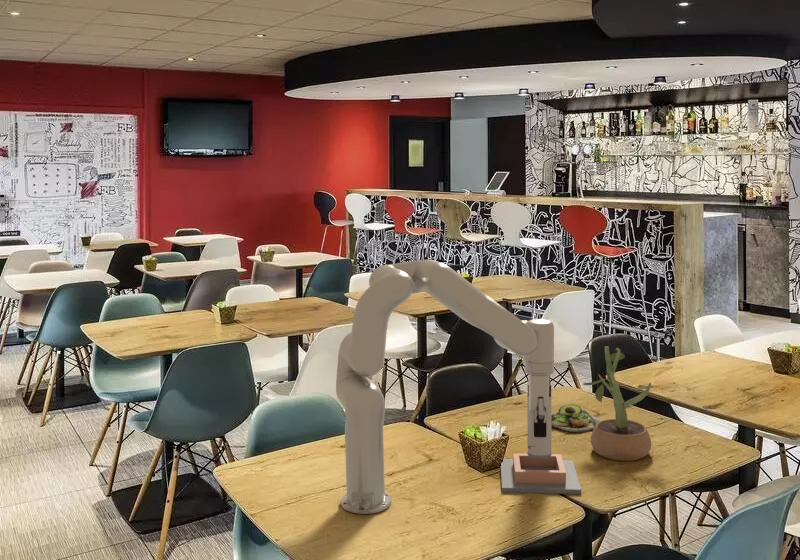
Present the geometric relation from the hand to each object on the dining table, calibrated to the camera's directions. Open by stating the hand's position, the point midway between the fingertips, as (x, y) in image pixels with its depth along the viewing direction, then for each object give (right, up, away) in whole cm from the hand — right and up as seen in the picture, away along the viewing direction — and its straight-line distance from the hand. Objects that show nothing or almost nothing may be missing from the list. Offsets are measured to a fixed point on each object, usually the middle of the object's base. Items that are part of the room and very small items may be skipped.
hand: (539, 431), depth 208 cm
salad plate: (+19, -7, +46) cm, 50 cm away
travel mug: (0, -7, +1) cm, 7 cm away
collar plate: (0, -13, +2) cm, 13 cm away
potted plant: (+26, -9, +22) cm, 36 cm away
